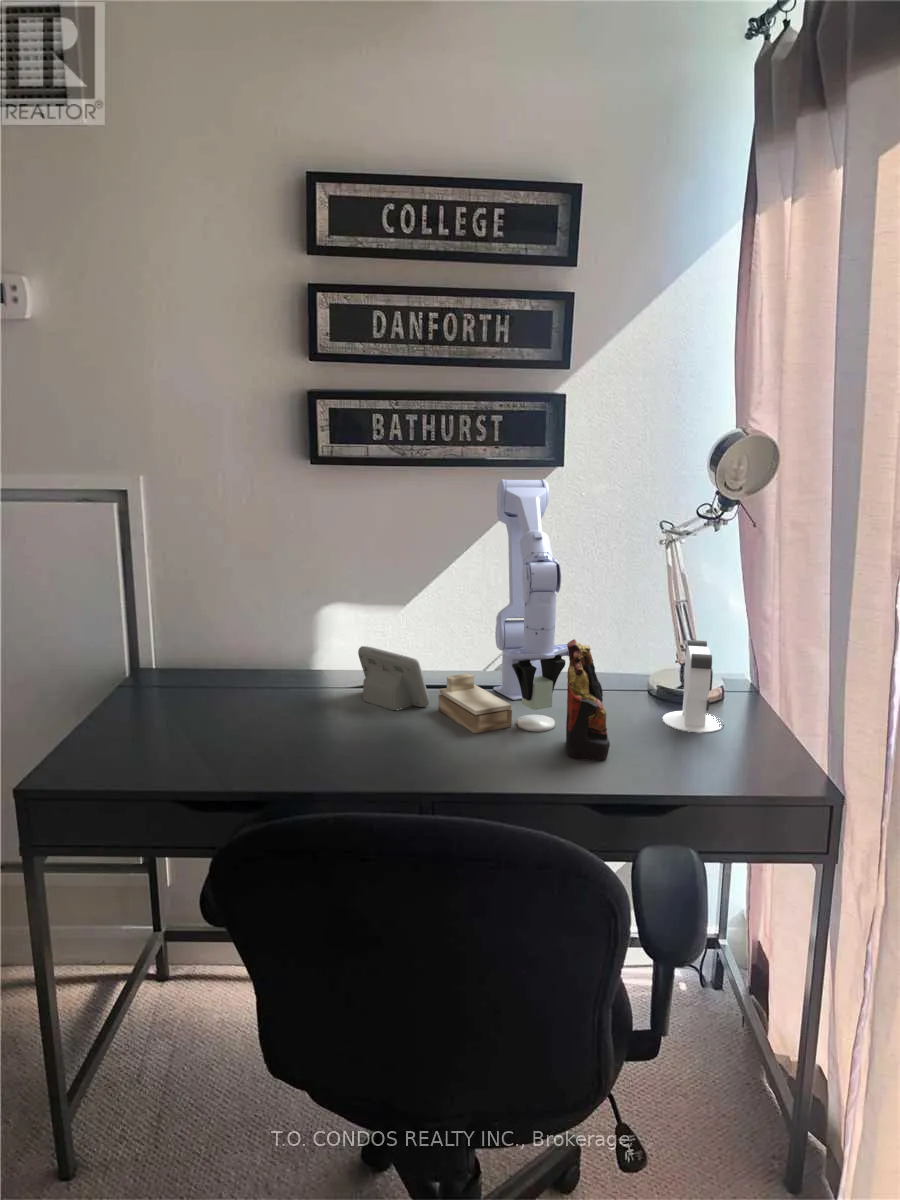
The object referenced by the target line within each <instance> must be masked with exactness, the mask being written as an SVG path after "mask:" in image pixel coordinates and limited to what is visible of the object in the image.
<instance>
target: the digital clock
mask: <svg viewBox="0 0 900 1200" xmlns="http://www.w3.org/2000/svg"><path fill="white" fill-rule="evenodd" d="M357 654H358V658H359V661H360V665H361V668H362V672H363V674H364V677H365V678H364V679H363V682H362V685H363V686H362V687H363V688H362V690H363V692H362V693H363V700H362V701H363V702H365V701H366V702H365V703H368V702H369V704H371V703H372V704H371V705H374V704H376V705H375V706H377V705H379V706H378V707H380V706H382V707H381V708H384V707H385V708H384V709H387V708H388V709H387V710H390V709H391V710H390V711H393V710H397V709H400V708H403V709H405V708H404V707H406V708H408V707H410V706H409V705H411V706H414V707H418V708H426V707H428V706H429V704H430V697H429V693H428V690H427V686H426V682H425V678H424V676H423V675H424V674H423V672H422V668H421V664H420V662H419V660H418V659H417V658H414V657H409V656H407V655H403V654H400V653H395V652H392V651H388V650H383V649H381V648H376V647H372V646H368V645H367V646H365V645H362V646H360V647H359V648H358V652H357ZM407 706H408V707H407ZM400 710H401V709H400ZM397 711H398V710H397Z"/></svg>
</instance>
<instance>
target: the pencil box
mask: <svg viewBox="0 0 900 1200" xmlns="http://www.w3.org/2000/svg"><path fill="white" fill-rule="evenodd" d="M438 711H439V712H440V713H442V714H443V715H445V714H446V715H445V716H446V717H448V718H450V719H451V720H453V721H454V722H455V723H457V724H459V725H461V726H462V727H464V728H465V729H467V730H468V731H470V732H471V733H473V734H479V733H485V732H488V731H494V730H500V729H504V728H510V727H512V722H513V720H512V718H513V709H512V708H511V709H507V710H502V711H496V712H491V713H485V714H479V715H475V714H473V713H471V712H470V711H468V710H466V709H465V708H463V707H462V706H460V705H458V704H457V703H455V702H453V701H452V700H450V699H448V698H447V697H445V696H444V695H442V694H440V693H439V694H438Z"/></svg>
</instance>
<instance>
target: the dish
mask: <svg viewBox="0 0 900 1200" xmlns="http://www.w3.org/2000/svg"><path fill="white" fill-rule="evenodd" d="M516 724H517V727H518V728H519V729H521V730H523V731H527V732H532V733H533V732H534V733H535V732H536V733H542V732H549V731H552V730H554V729H555V727H556V726H555V725H556V721H555V719H554V718H552V717H549V716H547V715H541V714H526V715H522V716H520V717H518V718H517V723H516Z"/></svg>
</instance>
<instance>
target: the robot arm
mask: <svg viewBox="0 0 900 1200" xmlns="http://www.w3.org/2000/svg"><path fill="white" fill-rule="evenodd" d="M549 497H550V491H549V484H548V482H547V481H546V480H545V479H542V478H541V479H505V478H502V479H501V478H500V480H499V481H498V483H497V488H496V514H497V516H498V519H497V520H498V522H500V523H502V524H504V525H506V527H505V528H506V532H507V539H508V543H507V544H508V546H507V547H508V588H509V590H508V593H509V594H508V595H509V597H508V598H509V603H508V604H507V605H506V606H504V608H502V609H501V610H500V611H499V612H498V613H497V615H496V620H495V621H496V623H495V645H496V648H497V649H498V651H502V664H501V685H499V686H498V685H497V686H493V690H494V691H496V692H497V693H499V694H501V695H503V696H505V697H506V698H508V699H511V700H513V701H515V700H516V701H517V700H522V698H524V699H526V700H528V701H529V700H531V698H532V690H533V680H534V676H540V675H541V676H543V677H545V678H547V679H549V680H551V681H553V690H552V694H553V693H554V691H555V690H554V689H555V687H556V684H557V682H558V681H557V680H558V678H559V677H560V674H561V673H562V671H563V669H565V666H566V659H564V658H563V657H569V651H568V647H567V644H568V643H562V644H561V643H560V644H555V640H556V639H555V638H556V637H555V636H556V619H557V618H556V617H557V616H556V612H557V593H559V592H560V590H561V585H562V571H561V565H560V562H559V561H558V560H557V558H556V557H554V556H553V555H554V554H553V549H552V546H551V540H550V537H549V535H548V534H547V533H546V532H544V531H543V529H542V528H543V526H542V519H543V517H544V516H545V512H546V510H547V507H548V505H549ZM509 619H511V620H509ZM512 619H513V620H512ZM514 619H515V620H514ZM518 619H519V620H518Z"/></svg>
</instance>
